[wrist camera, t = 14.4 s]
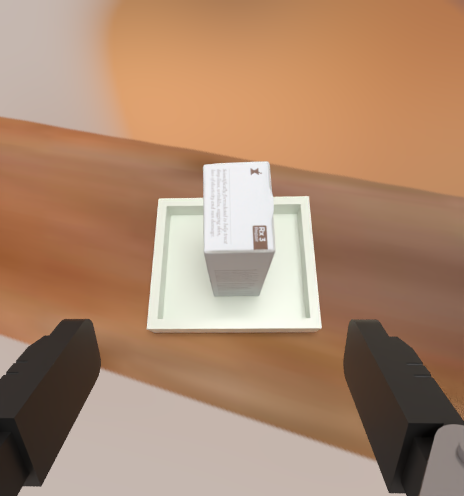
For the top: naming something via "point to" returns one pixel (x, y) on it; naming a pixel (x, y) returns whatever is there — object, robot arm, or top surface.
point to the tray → (232, 307)
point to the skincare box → (238, 226)
